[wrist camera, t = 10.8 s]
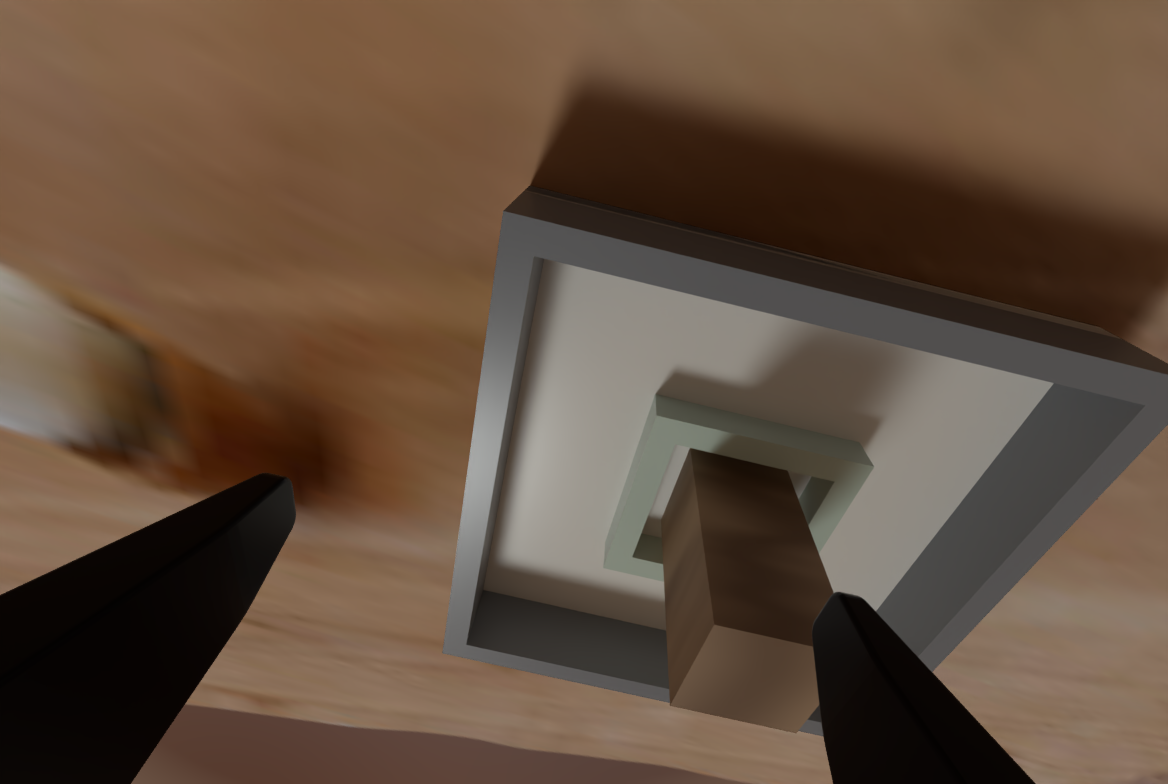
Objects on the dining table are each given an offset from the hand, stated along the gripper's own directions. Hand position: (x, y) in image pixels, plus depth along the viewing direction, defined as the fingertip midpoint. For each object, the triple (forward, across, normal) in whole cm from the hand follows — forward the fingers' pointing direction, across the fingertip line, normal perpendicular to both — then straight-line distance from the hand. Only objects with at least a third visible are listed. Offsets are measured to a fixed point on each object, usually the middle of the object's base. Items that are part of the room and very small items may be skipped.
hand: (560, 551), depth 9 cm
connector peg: (+11, -6, +7) cm, 15 cm away
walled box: (+12, -6, +7) cm, 16 cm away
